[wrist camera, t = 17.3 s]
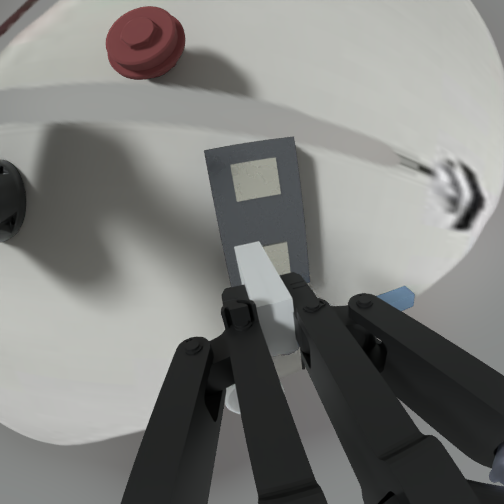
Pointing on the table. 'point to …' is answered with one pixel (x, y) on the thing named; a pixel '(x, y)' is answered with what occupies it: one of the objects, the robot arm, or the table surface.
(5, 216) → the robot arm
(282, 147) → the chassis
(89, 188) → the table surface
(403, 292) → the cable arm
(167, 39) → the mechanical component
